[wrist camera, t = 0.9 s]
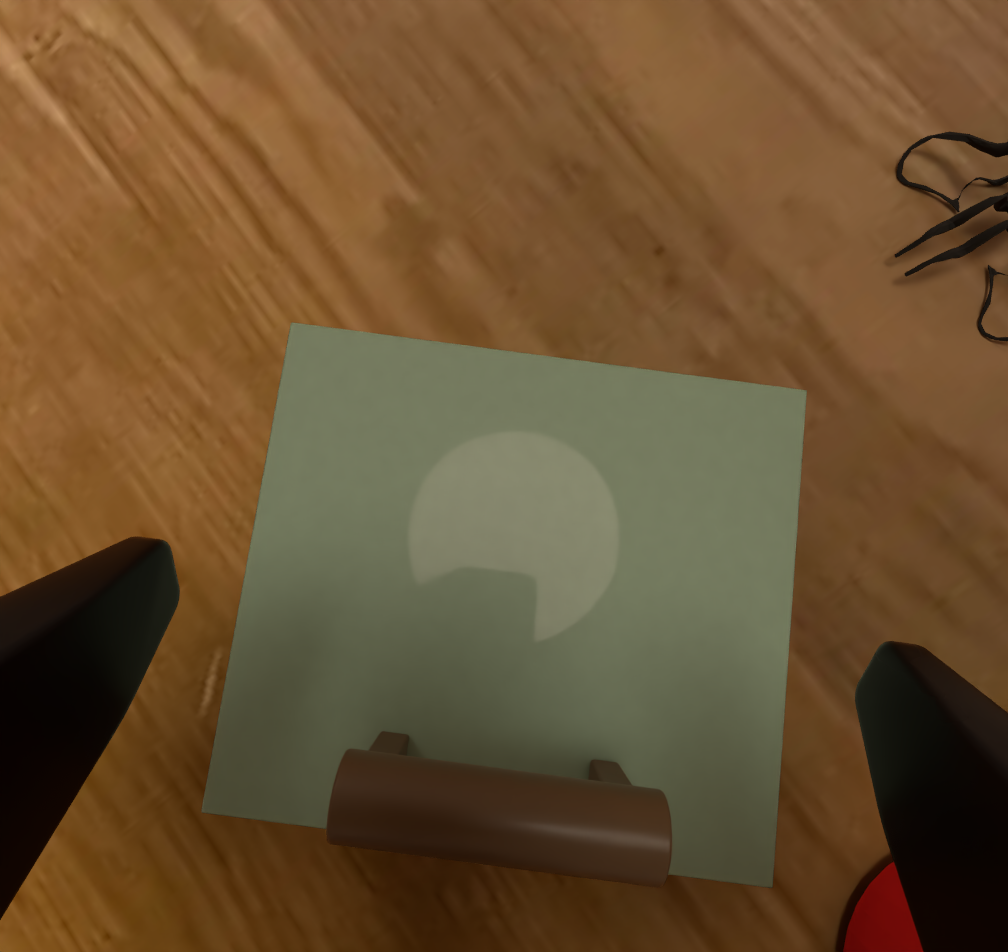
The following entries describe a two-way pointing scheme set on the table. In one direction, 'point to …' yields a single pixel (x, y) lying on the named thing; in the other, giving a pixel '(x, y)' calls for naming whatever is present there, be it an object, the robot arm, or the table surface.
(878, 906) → the soda can
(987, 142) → the creature
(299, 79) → the table surface
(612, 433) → the lid
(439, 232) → the table surface
